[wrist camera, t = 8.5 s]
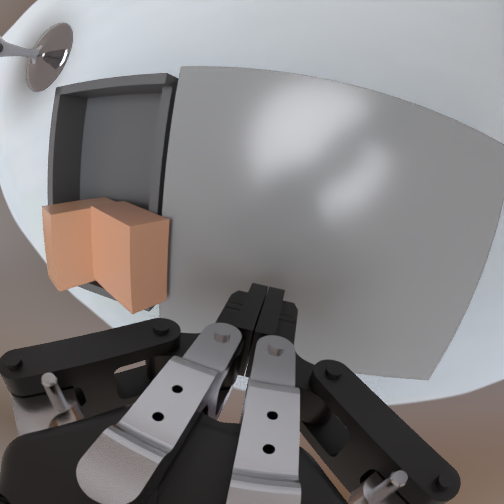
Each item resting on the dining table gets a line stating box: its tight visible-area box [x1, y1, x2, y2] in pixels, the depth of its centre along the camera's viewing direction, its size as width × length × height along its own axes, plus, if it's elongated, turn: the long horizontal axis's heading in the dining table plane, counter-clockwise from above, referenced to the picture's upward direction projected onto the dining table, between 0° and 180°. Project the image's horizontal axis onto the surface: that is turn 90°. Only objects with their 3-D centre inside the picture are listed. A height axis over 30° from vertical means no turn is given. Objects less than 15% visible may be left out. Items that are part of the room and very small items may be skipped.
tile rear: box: [42, 197, 116, 291], centre depth 17 cm, size 5×5×2 cm
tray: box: [48, 73, 178, 311], centre depth 17 cm, size 14×9×4 cm, turn 171°
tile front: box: [91, 201, 170, 314], centre depth 16 cm, size 5×5×2 cm
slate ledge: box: [159, 66, 504, 380], centre depth 15 cm, size 16×19×3 cm
